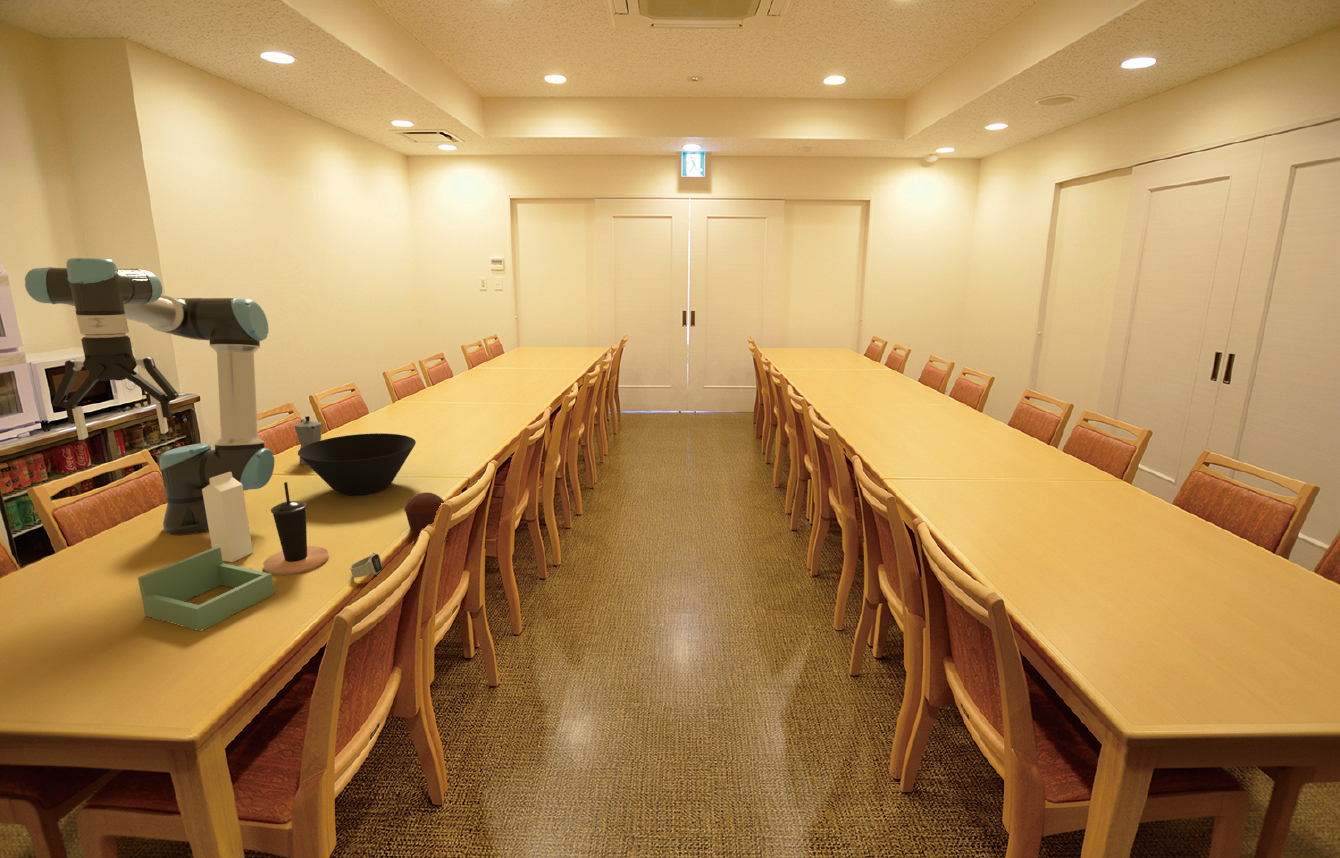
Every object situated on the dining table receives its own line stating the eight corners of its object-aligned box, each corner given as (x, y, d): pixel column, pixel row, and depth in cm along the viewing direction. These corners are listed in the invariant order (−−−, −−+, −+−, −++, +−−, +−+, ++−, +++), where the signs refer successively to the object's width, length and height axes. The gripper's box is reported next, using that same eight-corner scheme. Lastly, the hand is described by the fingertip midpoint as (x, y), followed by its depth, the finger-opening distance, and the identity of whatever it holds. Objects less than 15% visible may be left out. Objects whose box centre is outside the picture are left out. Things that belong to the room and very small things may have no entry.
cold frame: (145, 616, 130) (137, 577, 128) (222, 581, 145) (216, 546, 143) (200, 631, 125) (193, 591, 123) (274, 593, 140) (269, 557, 138)
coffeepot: (331, 462, 238) (326, 417, 234) (304, 467, 232) (298, 421, 227) (319, 454, 249) (314, 411, 244) (293, 458, 242) (287, 414, 238)
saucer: (250, 569, 151) (249, 565, 151) (300, 547, 164) (299, 542, 164) (293, 579, 147) (292, 574, 147) (341, 555, 160) (340, 550, 160)
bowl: (364, 513, 188) (358, 466, 185) (277, 498, 199) (271, 454, 196) (441, 479, 221) (437, 438, 218) (362, 468, 232) (358, 429, 229)
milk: (213, 559, 156) (198, 477, 151) (235, 550, 162) (221, 470, 157) (232, 562, 155) (218, 479, 150) (254, 552, 161) (240, 472, 155)
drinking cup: (297, 566, 151) (285, 488, 146) (271, 562, 153) (259, 486, 148) (320, 553, 158) (310, 479, 153) (295, 549, 160) (285, 476, 155)
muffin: (406, 522, 182) (403, 490, 179) (445, 517, 186) (443, 486, 184) (406, 537, 171) (403, 504, 169) (448, 532, 175) (446, 499, 173)
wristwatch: (370, 581, 147) (368, 562, 145) (344, 581, 147) (342, 562, 145) (387, 564, 155) (385, 546, 154) (362, 564, 155) (360, 546, 154)
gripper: (14, 338, 118) (39, 445, 123) (175, 335, 129) (192, 433, 134) (32, 335, 125) (55, 436, 130) (184, 332, 136) (200, 426, 141)
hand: (125, 435), depth 132 cm, fingers open, 13 cm apart
